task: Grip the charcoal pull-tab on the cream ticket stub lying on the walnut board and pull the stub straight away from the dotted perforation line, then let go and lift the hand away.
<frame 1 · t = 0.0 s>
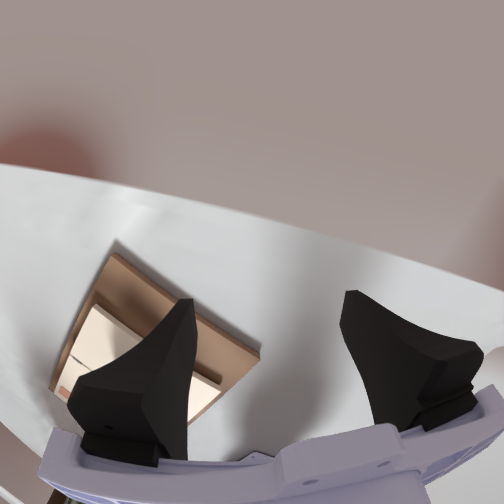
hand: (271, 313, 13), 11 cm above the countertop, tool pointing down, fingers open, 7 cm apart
olive oil: (98, 464, 31), on the countertop
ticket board: (134, 377, 26), on the countertop
stub: (134, 387, 21), point 4 cm above the countertop, slide at 0.0 cm
ticket: (114, 403, 26), resting on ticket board
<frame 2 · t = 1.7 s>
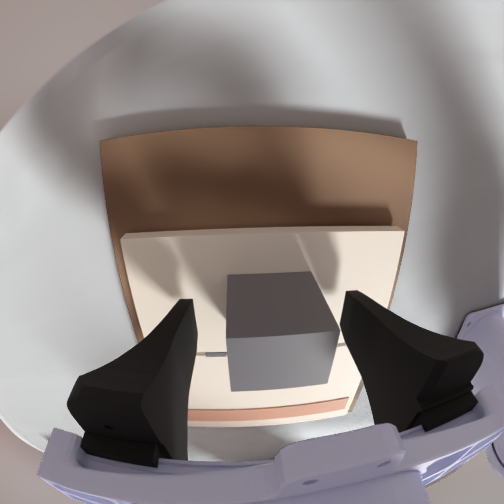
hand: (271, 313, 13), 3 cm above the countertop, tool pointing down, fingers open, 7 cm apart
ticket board: (264, 318, 17), on the countertop
stub: (273, 322, 12), point 4 cm above the countertop, slide at 0.0 cm
ticket: (263, 380, 19), resting on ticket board
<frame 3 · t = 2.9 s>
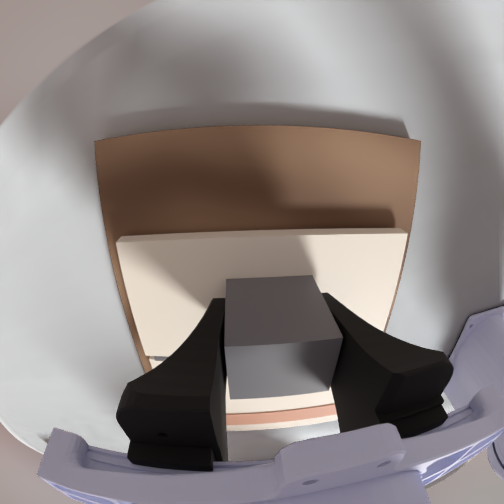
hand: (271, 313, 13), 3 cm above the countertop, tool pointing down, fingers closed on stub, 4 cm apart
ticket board: (264, 322, 17), on the countertop
stub: (274, 327, 12), point 4 cm above the countertop, slide at 0.0 cm, touching gripper
teacup: (434, 441, 32), on the countertop
ticket: (262, 384, 19), resting on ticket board
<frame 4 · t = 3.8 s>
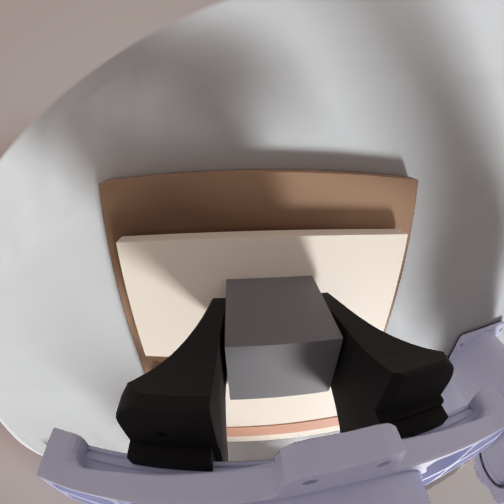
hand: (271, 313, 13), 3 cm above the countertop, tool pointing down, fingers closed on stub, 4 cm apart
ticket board: (263, 347, 17), on the countertop
stub: (274, 328, 12), point 4 cm above the countertop, slide at 2.1 cm, touching gripper
teacup: (429, 446, 33), on the countertop
ticket: (262, 400, 20), resting on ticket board
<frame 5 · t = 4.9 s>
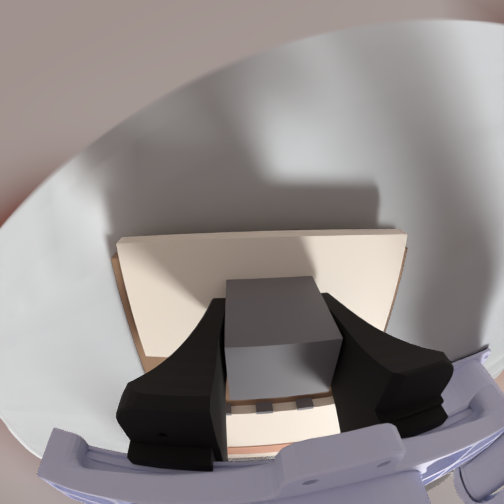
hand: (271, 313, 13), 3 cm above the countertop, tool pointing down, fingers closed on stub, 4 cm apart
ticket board: (262, 384, 19), on the countertop
stub: (274, 328, 12), point 4 cm above the countertop, slide at 5.9 cm, touching gripper
teacup: (420, 455, 34), on the countertop
ticket: (261, 423, 21), resting on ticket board
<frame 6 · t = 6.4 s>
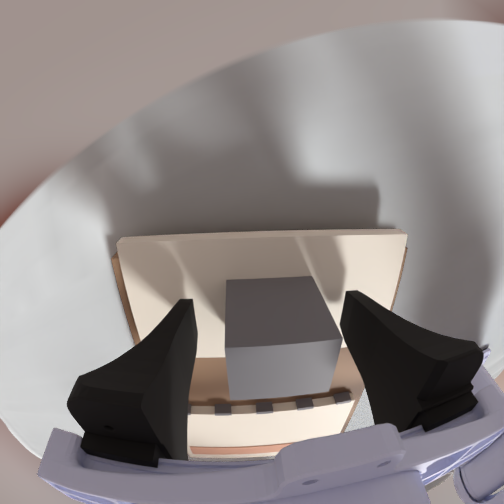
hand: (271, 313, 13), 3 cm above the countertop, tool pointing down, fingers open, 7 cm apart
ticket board: (262, 384, 19), on the countertop
stub: (274, 328, 12), point 4 cm above the countertop, slide at 5.9 cm
teacup: (420, 455, 34), on the countertop
ticket: (261, 423, 21), resting on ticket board
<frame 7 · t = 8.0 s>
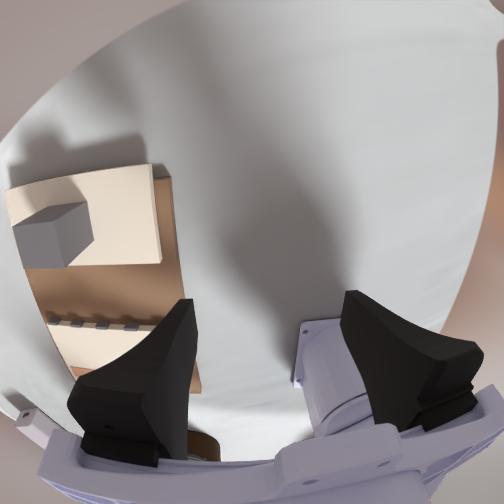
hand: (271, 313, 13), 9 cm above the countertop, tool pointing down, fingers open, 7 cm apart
olive oil: (189, 442, 34), on the countertop
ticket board: (104, 306, 23), on the countertop
stub: (57, 231, 16), point 4 cm above the countertop, slide at 5.9 cm
charger: (58, 431, 35), on the countertop
ticket: (121, 353, 26), resting on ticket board
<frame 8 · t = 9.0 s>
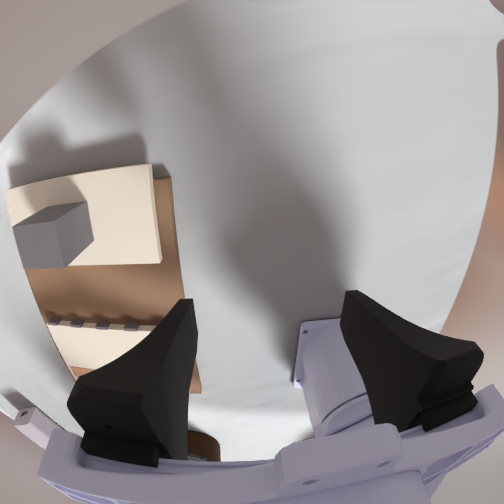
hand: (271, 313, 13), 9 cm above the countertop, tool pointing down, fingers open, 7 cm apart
olive oil: (189, 442, 34), on the countertop
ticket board: (104, 306, 23), on the countertop
stub: (57, 231, 16), point 4 cm above the countertop, slide at 5.9 cm
charger: (56, 429, 35), on the countertop
ticket: (121, 353, 26), resting on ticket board
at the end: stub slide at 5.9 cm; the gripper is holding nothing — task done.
